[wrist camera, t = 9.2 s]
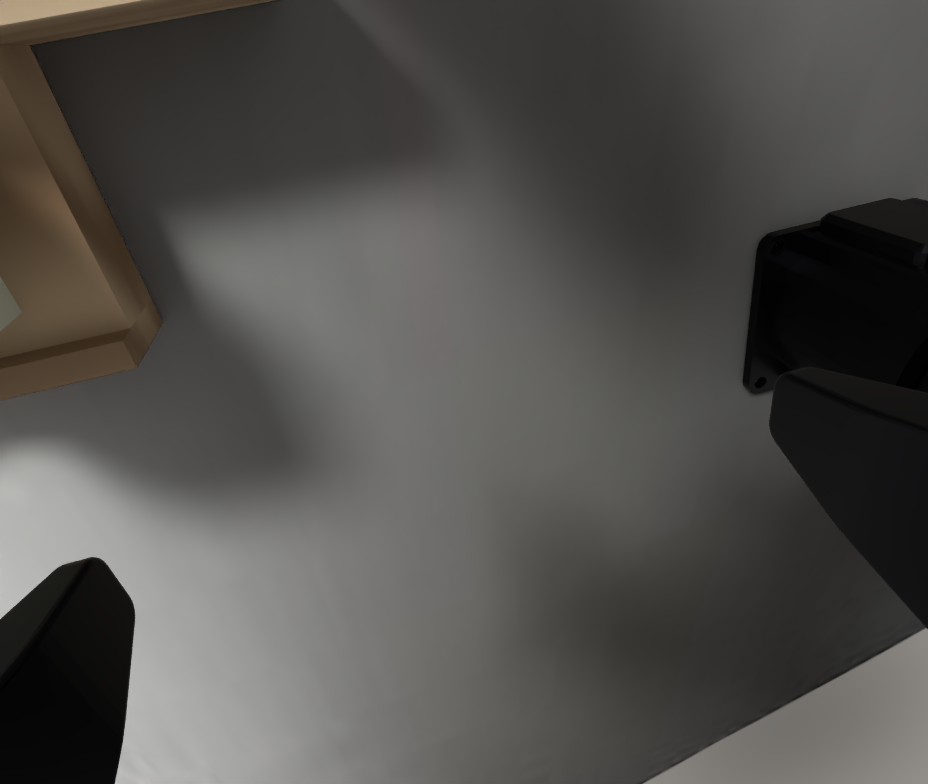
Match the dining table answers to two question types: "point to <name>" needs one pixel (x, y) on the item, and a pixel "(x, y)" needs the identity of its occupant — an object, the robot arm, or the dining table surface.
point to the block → (7, 306)
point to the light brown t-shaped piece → (65, 211)
